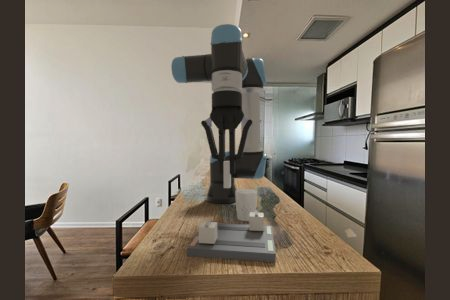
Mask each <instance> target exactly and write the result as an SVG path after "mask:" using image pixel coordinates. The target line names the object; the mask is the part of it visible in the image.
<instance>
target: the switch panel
mask: <svg viewBox="0 0 450 300" xmlns="http://www.w3.org/2000/svg"><path fill="white" fill-rule="evenodd" d="M274 240H275V239H274V233H273V226H272V225H266V224H264V231H252V230H249V224H241V223H221V222H217V240H216V242H215V244H208V243H199V230H198V231H197V233H196V234H195V235H194V237H193V238H192V240H191V241H190V243H189V244H188V245H187V247H186V257H196V258H197V257H198V258H210V259H221V260H222V259H223V260H224V259H225V260H236V261H238V260H239V261H251V262H266V263H276V262H277V261H276V259H277V258H276V257H277V256H276V254H277V253H276V247H275V241H274Z"/></svg>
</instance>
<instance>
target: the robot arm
mask: <svg viewBox="0 0 450 300" xmlns="http://www.w3.org/2000/svg"><path fill="white" fill-rule="evenodd" d="M242 36H243V35H242V30H241V29H240V27H239V26H237V25H234V24H231V23H230V24H229V23H224V24H220V25H216V26H215V27H214V28H213V29H212V30H211V37H210V38H211V39H210V51H211V52H210V53H208V54H207V53H206V54H198V55H185V56H184V55H182V56H177V57H176V56H175V57H174V58H173V59H172V62H171V65H170V66H171V73H172V74H171V75H172V78H173V79H174V81H175V82H176V83H179V84H184V83H185V84H188V83H210V84H211V91H212V93H211V111H210V114H209V117H208V118H206V119H204V120H202V121H201V122H200V124H201V126H202V127H203V129H204V131H205V134H206V138H207V143H208V146H209V151H210V160H209V161H210V162H209V169H210V170H209V172H210V173H209V174H210V175H209V176H210V179H209V180H210V182H209V188H208V189H207V193H206V201H207V202H209V203H211V204H212V203H213V204H230V203H232V204H233V203H236V197H235V191H236V190H237V188H236V184H235V179H243V180H244V179H245V180H246V179H247V180H248V179H249V180H250V179H251V180H256V179H257V180H261V179H263V178H264V176H265V171H266V163H267V153H264V149H263V148H262V146H261V118H260V117H261V102H260V101H261V93H262V92H263V90H264V86H266V85H267V78H266V71H265V70H266V69H265V63H264V60H263V59H262V58H259V57H256V58H254V57H252V58H246V57H245V54H244V51H243V37H242ZM212 123H213V124H214V126H215V127H216V128H217V129H218V148H217V144H216V140H215V137H214V136H215V135H214V133H213V128H212V127H213V124H212ZM240 124H241V125H240ZM239 125H240V126H241V127H240V129H241V130H240V131H241V135H240V140H239V145H238V149H237V153H236V129H237V128H238V127H239ZM226 130H228V136H229V137H228V150H229V151H226Z"/></svg>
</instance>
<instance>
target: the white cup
mask: <svg viewBox="0 0 450 300" xmlns="http://www.w3.org/2000/svg"><path fill="white" fill-rule="evenodd" d="M235 197H236V202H235V208H236V209H235V210H236V219H237V220H238V221H242V222H249V216H250V212H255V210H257V203H258V202H257V201H258V190H257V189H252V188H240V189H236V191H235Z"/></svg>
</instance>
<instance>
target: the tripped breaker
mask: <svg viewBox="0 0 450 300" xmlns="http://www.w3.org/2000/svg"><path fill="white" fill-rule="evenodd" d="M217 223H218V221H212V219H207V221H201V223H200V224H199V226H198V231H199V243H208V244H215V242H216V240H217Z"/></svg>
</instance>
